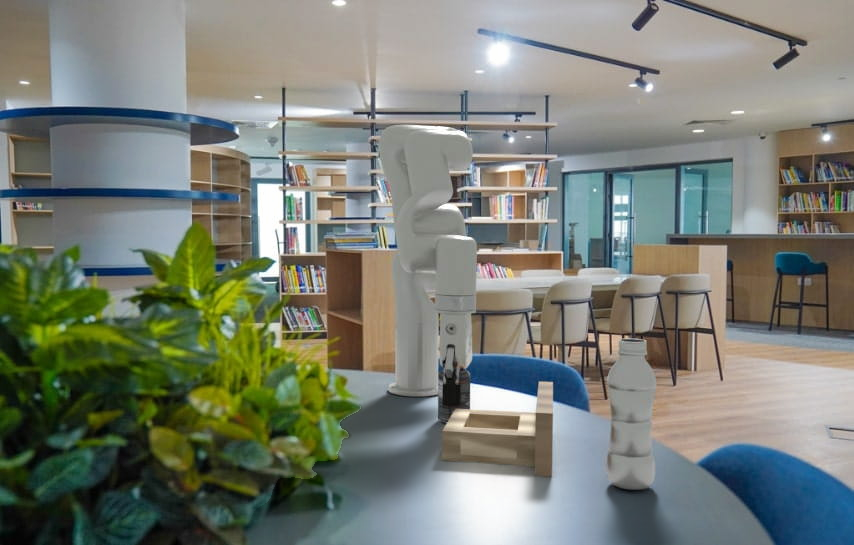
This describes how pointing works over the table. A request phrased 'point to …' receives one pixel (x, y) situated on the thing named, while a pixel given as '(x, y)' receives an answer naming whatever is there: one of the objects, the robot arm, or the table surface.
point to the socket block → (490, 437)
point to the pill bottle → (464, 380)
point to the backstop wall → (544, 429)
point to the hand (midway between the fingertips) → (454, 400)
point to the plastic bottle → (631, 417)
